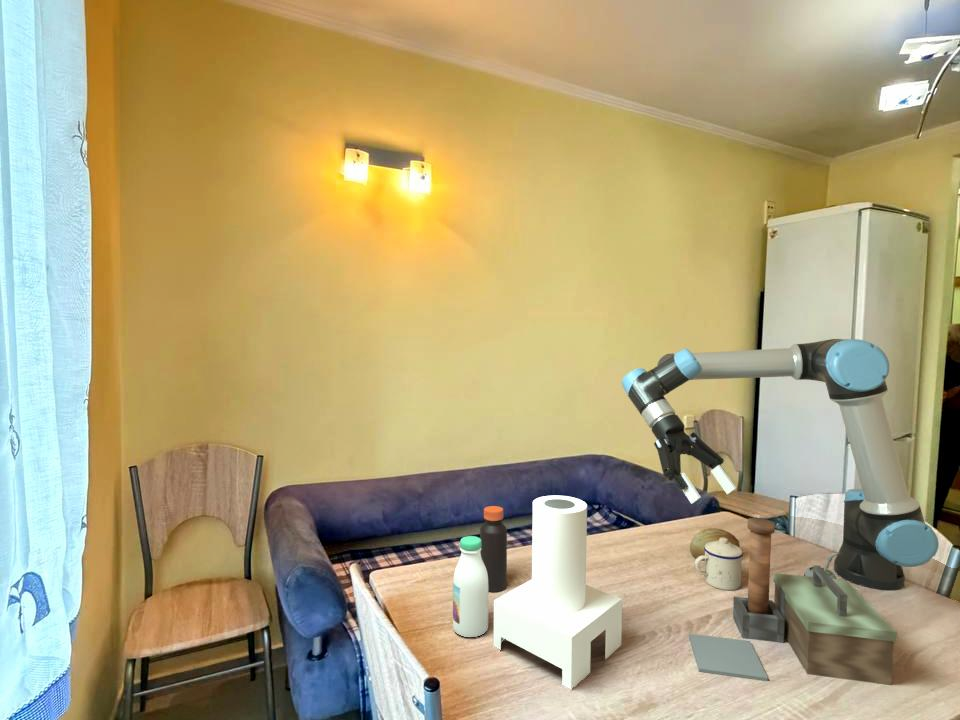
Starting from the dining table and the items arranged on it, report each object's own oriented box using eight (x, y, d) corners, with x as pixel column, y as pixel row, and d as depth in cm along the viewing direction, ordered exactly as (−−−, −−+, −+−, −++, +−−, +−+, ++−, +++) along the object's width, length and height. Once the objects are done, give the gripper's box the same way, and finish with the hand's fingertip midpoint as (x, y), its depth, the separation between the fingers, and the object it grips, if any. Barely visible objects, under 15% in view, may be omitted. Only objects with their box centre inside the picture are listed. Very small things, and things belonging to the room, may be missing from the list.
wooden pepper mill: (766, 624, 117) (770, 518, 116) (774, 638, 112) (778, 527, 111) (741, 621, 118) (744, 516, 117) (747, 634, 113) (751, 525, 112)
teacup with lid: (728, 573, 142) (730, 531, 141) (749, 590, 133) (751, 545, 132) (686, 575, 141) (687, 533, 140) (704, 592, 132) (705, 547, 131)
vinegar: (475, 589, 133) (476, 511, 131) (485, 578, 139) (485, 503, 138) (501, 595, 130) (501, 515, 129) (510, 582, 136) (510, 506, 135)
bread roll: (749, 561, 150) (750, 534, 149) (702, 566, 146) (703, 538, 146) (727, 547, 159) (728, 521, 158) (682, 552, 156) (683, 525, 155)
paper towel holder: (493, 647, 109) (494, 504, 107) (547, 612, 122) (548, 484, 121) (571, 690, 96) (573, 528, 94) (621, 645, 110) (624, 503, 108)
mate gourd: (806, 593, 131) (809, 534, 131) (844, 605, 126) (847, 543, 125) (798, 604, 126) (800, 542, 125) (837, 617, 121) (840, 553, 120)
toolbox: (843, 625, 117) (846, 561, 116) (894, 686, 97) (898, 609, 96) (730, 612, 122) (732, 551, 122) (756, 667, 102) (758, 595, 101)
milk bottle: (492, 623, 118) (493, 535, 116) (481, 642, 110) (482, 548, 109) (460, 616, 120) (460, 530, 119) (447, 635, 113) (447, 543, 112)
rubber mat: (749, 643, 110) (749, 641, 110) (767, 681, 99) (767, 677, 98) (688, 636, 113) (688, 633, 113) (698, 671, 101) (699, 668, 101)
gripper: (685, 426, 144) (734, 495, 132) (620, 434, 130) (669, 513, 119) (703, 409, 139) (756, 479, 127) (638, 416, 126) (690, 496, 114)
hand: (714, 496), depth 123 cm, fingers open, 13 cm apart
